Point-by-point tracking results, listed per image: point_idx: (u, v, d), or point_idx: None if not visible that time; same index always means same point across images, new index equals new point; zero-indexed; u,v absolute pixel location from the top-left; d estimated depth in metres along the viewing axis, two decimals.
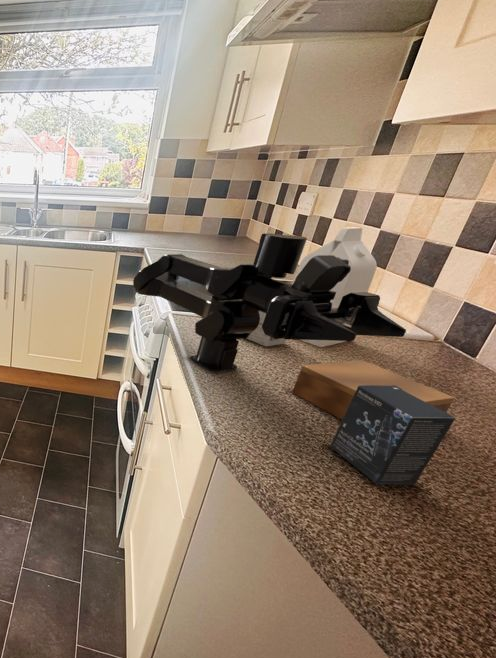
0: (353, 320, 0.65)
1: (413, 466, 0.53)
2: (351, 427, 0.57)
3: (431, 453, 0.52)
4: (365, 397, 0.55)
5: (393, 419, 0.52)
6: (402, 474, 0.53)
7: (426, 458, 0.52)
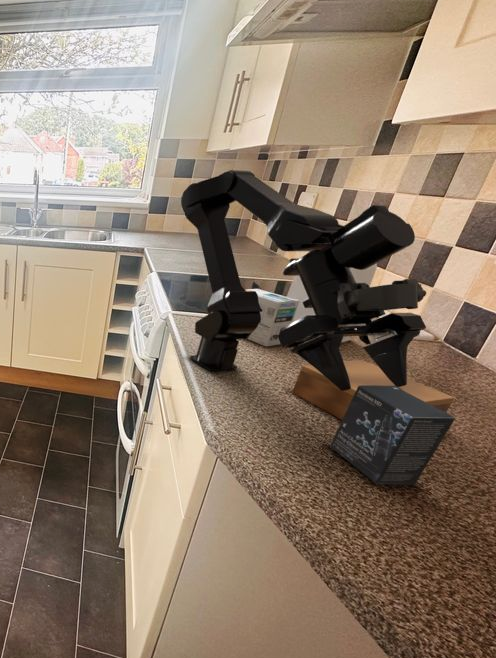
0: (378, 340, 0.61)
1: (413, 466, 0.53)
2: (351, 427, 0.57)
3: (431, 453, 0.52)
4: (365, 397, 0.55)
5: (393, 419, 0.52)
6: (402, 474, 0.53)
7: (426, 458, 0.52)
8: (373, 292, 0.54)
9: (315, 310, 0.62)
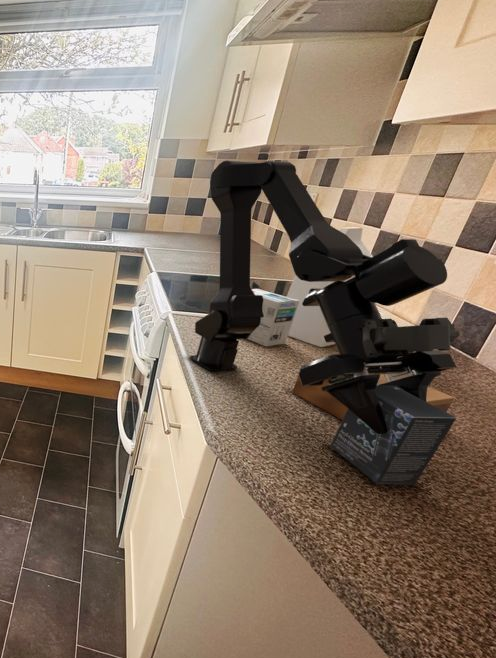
0: (395, 378, 0.57)
1: (413, 466, 0.53)
2: (351, 427, 0.57)
3: (432, 453, 0.52)
4: None
5: (394, 419, 0.52)
6: (402, 474, 0.53)
7: (427, 458, 0.52)
8: (402, 332, 0.51)
9: (337, 346, 0.59)
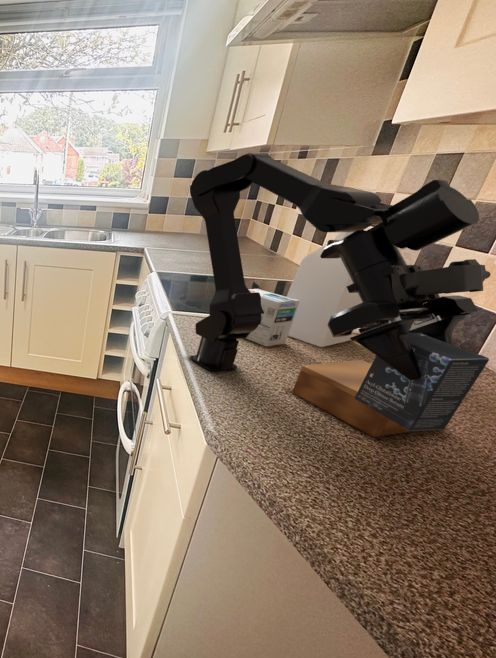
0: (418, 326, 0.57)
1: (445, 411, 0.52)
2: (379, 376, 0.56)
3: (463, 396, 0.52)
4: None
5: (429, 363, 0.51)
6: (434, 419, 0.53)
7: (458, 402, 0.52)
8: (437, 274, 0.50)
9: (363, 295, 0.57)
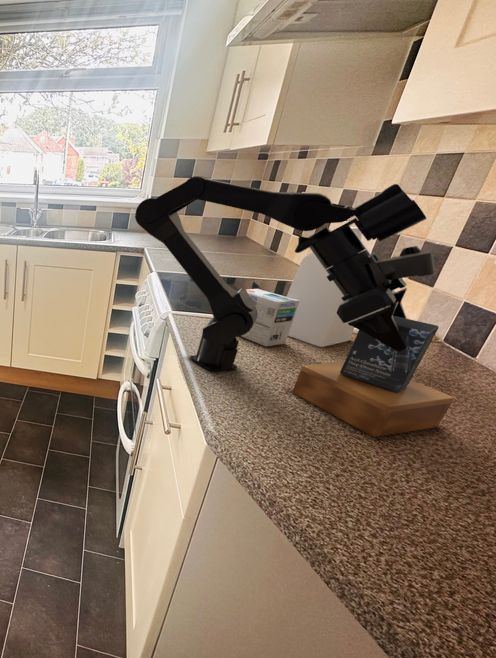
0: None
1: (413, 371, 0.66)
2: (362, 352, 0.68)
3: (422, 357, 0.66)
4: None
5: (410, 338, 0.63)
6: (408, 379, 0.66)
7: (419, 362, 0.66)
8: (411, 261, 0.61)
9: (343, 282, 0.67)
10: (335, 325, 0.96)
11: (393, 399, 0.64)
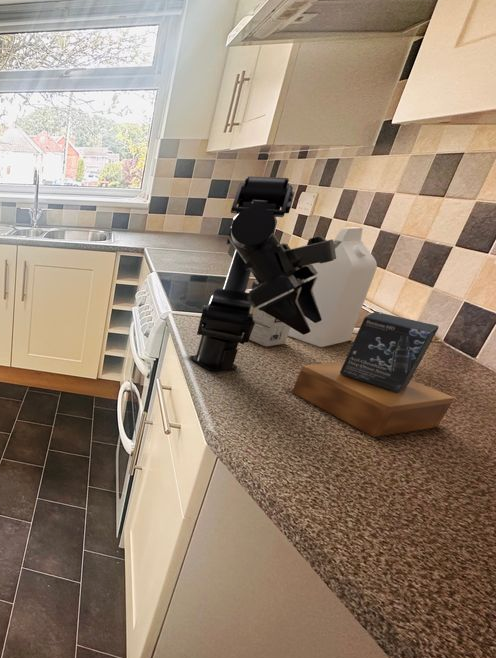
0: None
1: (413, 371, 0.66)
2: (362, 352, 0.68)
3: (422, 357, 0.66)
4: (375, 325, 0.66)
5: (410, 338, 0.63)
6: (408, 379, 0.66)
7: (419, 362, 0.66)
8: (313, 249, 0.65)
9: (257, 270, 0.71)
10: (335, 325, 0.96)
11: (393, 399, 0.64)
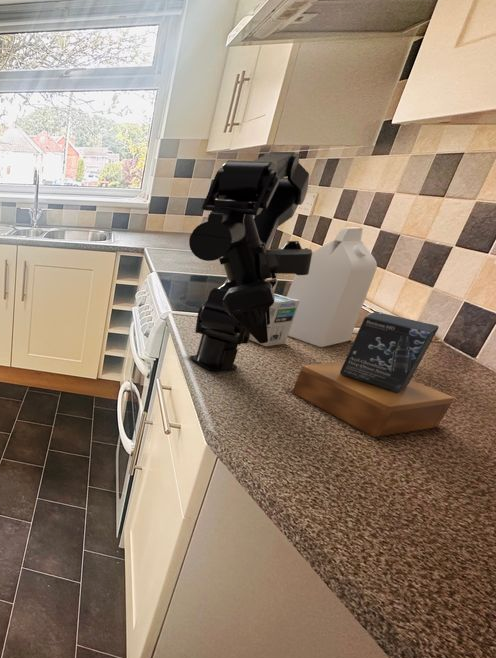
0: None
1: (413, 371, 0.66)
2: (362, 352, 0.68)
3: (422, 357, 0.66)
4: (375, 325, 0.66)
5: (410, 338, 0.63)
6: (408, 379, 0.66)
7: (419, 362, 0.66)
8: (294, 259, 0.62)
9: (232, 268, 0.66)
10: (335, 325, 0.96)
11: (393, 399, 0.64)
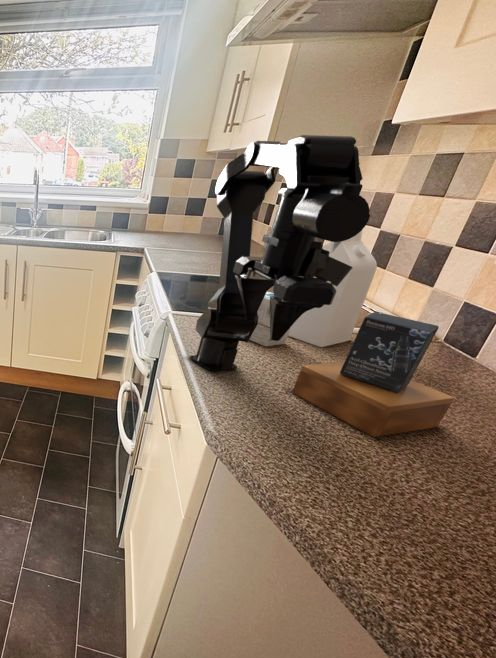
0: (254, 278, 0.70)
1: (413, 371, 0.66)
2: (362, 352, 0.68)
3: (422, 357, 0.66)
4: (375, 325, 0.66)
5: (410, 338, 0.63)
6: (408, 379, 0.66)
7: (419, 362, 0.66)
8: (340, 267, 0.60)
9: (284, 254, 0.61)
10: (335, 325, 0.96)
11: (393, 399, 0.64)
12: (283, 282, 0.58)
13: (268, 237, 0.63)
